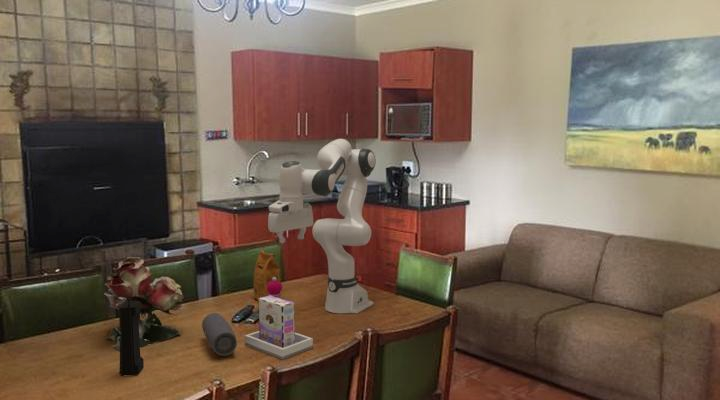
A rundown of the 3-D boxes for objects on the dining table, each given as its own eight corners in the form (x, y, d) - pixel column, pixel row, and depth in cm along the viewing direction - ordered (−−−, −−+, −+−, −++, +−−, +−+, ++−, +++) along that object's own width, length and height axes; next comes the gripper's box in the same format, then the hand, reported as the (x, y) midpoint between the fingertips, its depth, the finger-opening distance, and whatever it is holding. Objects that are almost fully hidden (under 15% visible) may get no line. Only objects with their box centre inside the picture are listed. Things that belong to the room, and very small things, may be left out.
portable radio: (126, 366, 202) (122, 292, 199) (144, 365, 203) (141, 292, 199) (118, 376, 194) (114, 300, 191) (138, 375, 195) (134, 299, 192)
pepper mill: (280, 330, 237) (280, 280, 234) (263, 328, 238) (262, 278, 236) (286, 324, 244) (286, 275, 241) (269, 322, 245) (268, 274, 243)
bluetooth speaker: (200, 339, 228) (199, 313, 226) (225, 335, 231) (225, 310, 230) (211, 361, 207) (210, 332, 206) (238, 357, 211) (238, 329, 209)
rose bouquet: (193, 332, 234) (191, 255, 230) (121, 354, 213) (117, 269, 209) (157, 317, 251) (154, 246, 247) (87, 336, 229) (82, 258, 225)
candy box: (295, 347, 217) (295, 302, 215) (282, 351, 213) (282, 305, 210) (271, 337, 226) (270, 294, 224) (258, 341, 222) (257, 297, 220)
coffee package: (270, 294, 284) (269, 248, 281) (283, 301, 274) (282, 253, 271) (250, 298, 279) (249, 250, 276) (263, 305, 269) (262, 255, 266)
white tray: (275, 334, 232) (275, 325, 232) (312, 347, 219) (312, 338, 219) (244, 344, 222) (244, 335, 221) (282, 359, 208) (282, 349, 208)
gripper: (305, 201, 241) (305, 236, 242) (265, 206, 225) (265, 243, 227) (316, 202, 236) (317, 238, 238) (276, 208, 221) (277, 246, 223)
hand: (291, 240), depth 233 cm, fingers open, 8 cm apart
